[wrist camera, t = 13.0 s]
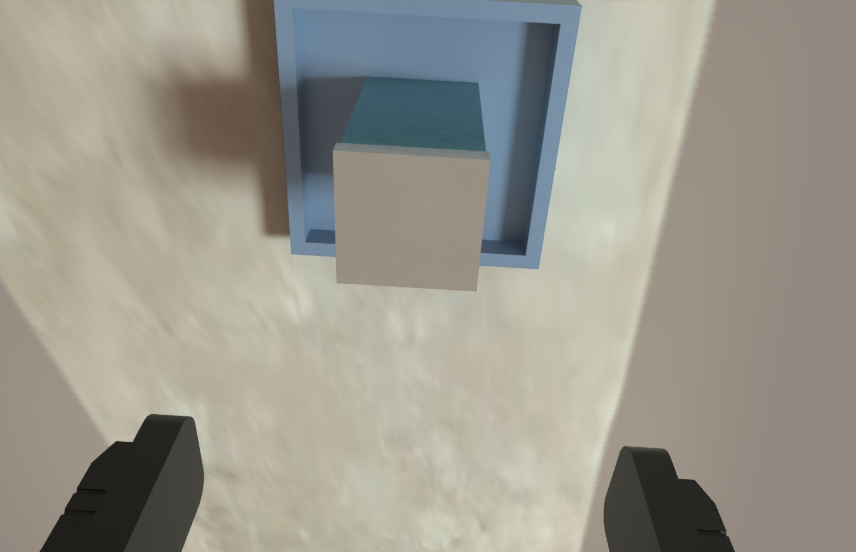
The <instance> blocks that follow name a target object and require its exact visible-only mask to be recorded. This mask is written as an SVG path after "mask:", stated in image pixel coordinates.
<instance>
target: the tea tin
mask: <svg viewBox="0 0 856 552" xmlns="http://www.w3.org/2000/svg"><path fill="white" fill-rule="evenodd" d="M489 169H490V152H486V145H485V136H484V127H483V118H482V109H481V100H480V91H479V83H471V82H455V81H438V80H421V79H404V78H387V77H370V76H367V77H366V80H365V82H364V85H363V87H362V90H361V92H360V94H359V97H358V99H357V102H356V104H355V107H354V109H353V112H352V114H351V117H350V119H349V122H348V124H347V127H346V129H345V132H344V134H343V137H342V139H341V142H340V143H336V144H335V147H334V149H333V172H334V206H335V241H336V276H337V283H345V284H362V285H379V286H395V287H412V288H429V289H446V290H462V291H477V281H478V272H479V263H480V253H481V244H482V234H483V225H484V216H485V206H486V197H487V188H488V178H489Z"/></svg>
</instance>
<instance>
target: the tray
mask: <svg viewBox="0 0 856 552" xmlns="http://www.w3.org/2000/svg"><path fill="white" fill-rule="evenodd" d="M581 8H582V6H581V5H580V4H579V2H578V1H577V0H274V11H275V26H276V40H277V55H278V69H279V83H280V98H281V112H282V127H283V141H284V155H285V170H286V184H287V199H288V213H289V227H290V242H291V254H297V255H314V256H330V257H336V241H335V206H334V172H333V149H334V147H335V144H336V143H340V142H341V139H342V137H343V134H344V132H345V129H346V127H347V124H348V122H349V119H350V117H351V114H352V112H353V109H354V107H355V104H356V102H357V99H358V97H359V94H360V92H361V90H362V87H363V85H364V82H365V80H366V77H367V76H370V77H387V78H404V79H421V80H438V81H455V82H471V83H479V91H480V100H481V109H482V118H483V127H484V136H485V145H486V152H490V169H489V178H488V188H487V197H486V206H485V216H484V225H483V234H482V244H481V253H480V263H479V266H495V267H512V268H528V269H538V268H539V262H540V256H541V250H542V244H543V238H544V232H545V226H546V220H547V214H548V208H549V202H550V196H551V190H552V184H553V177H554V171H555V165H556V159H557V153H558V147H559V141H560V135H561V129H562V123H563V117H564V111H565V105H566V99H567V93H568V86H569V80H570V74H571V68H572V62H573V56H574V50H575V44H576V38H577V32H578V26H579V20H580V14H581Z"/></svg>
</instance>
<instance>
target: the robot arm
mask: <svg viewBox="0 0 856 552" xmlns="http://www.w3.org/2000/svg"><path fill="white" fill-rule="evenodd" d="M203 483H204V471H203V465H202V459H201V453H200V448H199V442H198V437H197V431H196V425H195V421H194V419H193V418H192V417H189V416H174V415H159V414H150V415H149V416H147V417H146V419H145V420H144V422H143V424H142V425H141V427H140V429H139V431H138V433H137V435H136V437H135V439H134V440H133V442H121V441H116V442H115V443H114V444H112V445H111V446H110V447H109V448H108V449H107V450H106V451H105V452H103V453H102V454H101V455H100V456H99V457H98V458H97V459H95V460H94V461H93V462H92V463H91V465H90V467H89V468H88V470H87V472H86V474H85V475H84V477H83V479H82V480H81V482H80V484H79V485H78V487H77V492H76V493H74V494H73V496H72V498H71V499H70V501H69V503H68V504H67V506H66V508H65V512H64V514H63V515H61V516H60V518H59V520H58V521H57V523H56V525H55V527H54V528H53V530H52V532H51V533H50V535H49V537H48V538H47V540H46V542H45V544H44V546H43V547H42V549H41V550H40V552H181V551H182V548H183V546H184V543H185V541H186V538H187V535H188V533H189V530H190V528H191V525H192V522H193V520H194V517H195V514H196V512H197V509H198V506H199V504H200V500H201V496H202V491H203ZM604 527H605V533H606V538H607V542H608V546H609V551H610V552H735V551H734V549H733V546H732V544H731V541H730V539H729V537H728V536H726V529H725V527H724V524H723V522H722V519H721V517H720V514H719V512H718V509H717V507H716V505H715V503H714V502H713V501H712V500H711V499H710V497H709V496H708V495H707V494H706V493H705V492H704V490H703V489H702V488H701V487H700V486H699V485H698V483H697V482H696V481H695V480H688V479H678V477H677V474H676V471H675V468H674V466H673V463H672V460H671V458H670V455H669V453H668V452H667V451H666V450H665V449H660V448H645V447H630V446H624V447H623V448H622V449H621V451H620V454H619V457H618V460H617V463H616V466H615V470H614V472H613V476H612V479H611V482H610V485H609V488H608V491H607V494H606V498H605V503H604Z"/></svg>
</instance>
